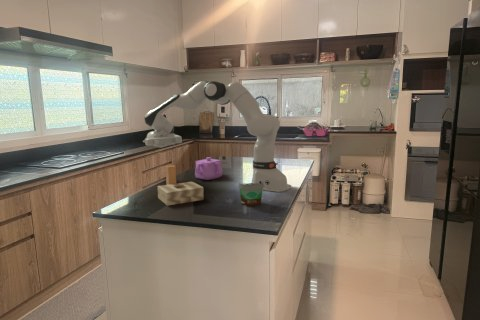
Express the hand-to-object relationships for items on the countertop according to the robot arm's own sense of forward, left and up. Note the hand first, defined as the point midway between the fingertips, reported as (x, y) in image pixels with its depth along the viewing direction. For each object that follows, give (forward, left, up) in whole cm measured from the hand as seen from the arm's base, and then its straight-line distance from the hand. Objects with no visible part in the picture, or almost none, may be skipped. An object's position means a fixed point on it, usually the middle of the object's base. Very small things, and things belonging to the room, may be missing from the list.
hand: (167, 141), depth 181 cm
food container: (-55, +1, -25) cm, 61 cm away
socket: (-21, +13, -25) cm, 35 cm away
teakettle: (-1, -31, -25) cm, 40 cm away
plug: (-9, +7, -25) cm, 28 cm away
